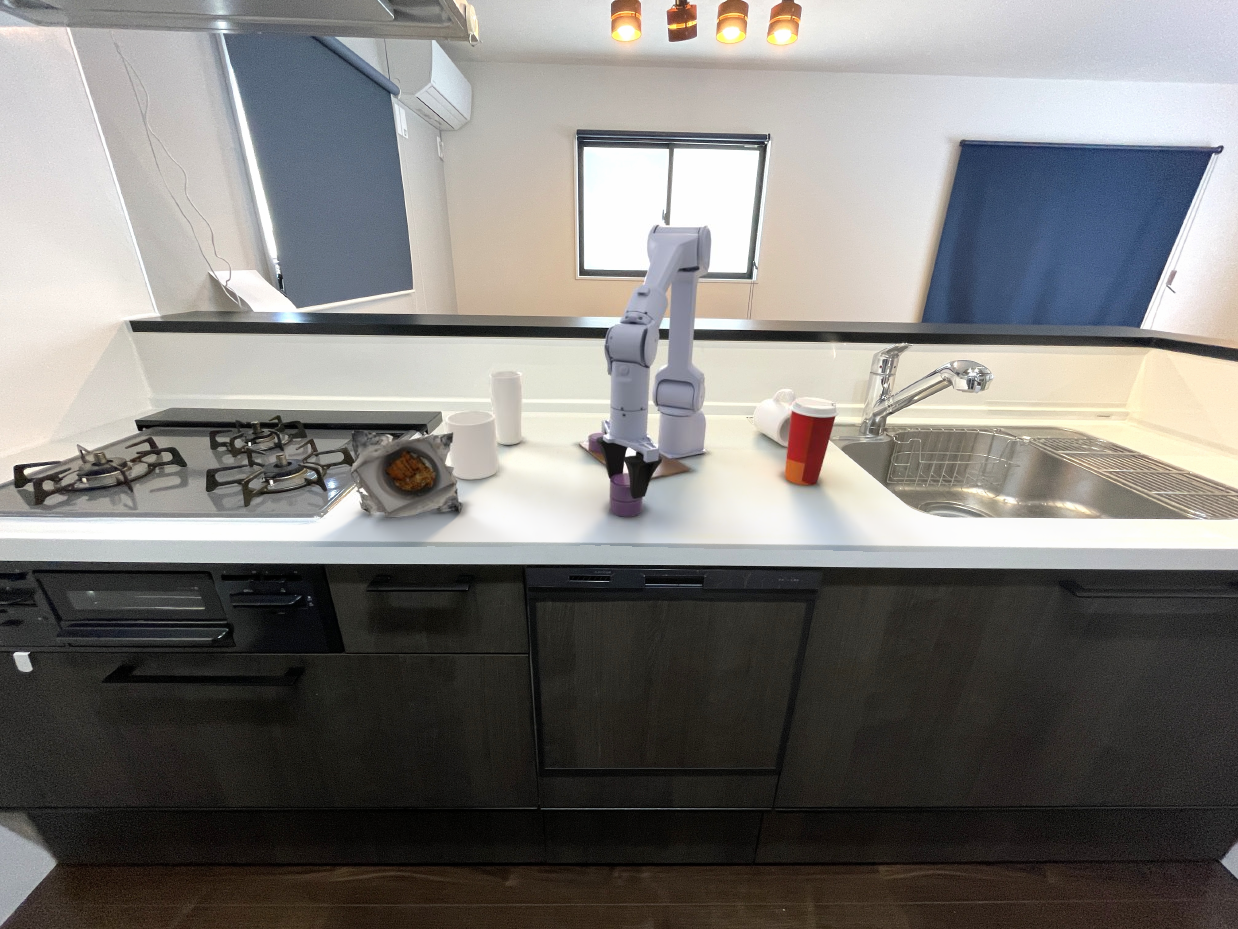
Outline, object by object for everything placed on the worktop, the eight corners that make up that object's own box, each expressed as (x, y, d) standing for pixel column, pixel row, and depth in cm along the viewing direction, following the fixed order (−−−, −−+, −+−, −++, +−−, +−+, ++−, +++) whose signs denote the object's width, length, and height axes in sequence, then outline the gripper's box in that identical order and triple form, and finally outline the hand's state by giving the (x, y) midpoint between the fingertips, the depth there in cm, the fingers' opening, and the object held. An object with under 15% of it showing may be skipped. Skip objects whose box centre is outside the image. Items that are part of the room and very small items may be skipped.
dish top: (606, 442, 108) (606, 430, 107) (618, 450, 103) (618, 438, 102) (584, 446, 105) (584, 434, 104) (595, 454, 101) (595, 442, 100)
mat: (634, 435, 114) (634, 433, 113) (690, 470, 96) (690, 468, 96) (578, 444, 107) (578, 442, 107) (628, 484, 90) (628, 482, 90)
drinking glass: (518, 448, 104) (514, 378, 98) (488, 445, 105) (482, 376, 100) (529, 437, 110) (526, 371, 104) (501, 434, 112) (496, 369, 106)
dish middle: (632, 484, 83) (632, 470, 82) (649, 497, 79) (649, 482, 78) (603, 490, 81) (604, 475, 80) (619, 504, 77) (619, 489, 76)
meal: (463, 502, 82) (455, 427, 76) (459, 515, 78) (450, 437, 73) (368, 506, 80) (352, 429, 74) (358, 519, 76) (342, 439, 71)
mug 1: (497, 454, 101) (493, 404, 97) (499, 478, 90) (495, 423, 86) (454, 457, 99) (448, 406, 95) (450, 482, 88) (443, 426, 84)
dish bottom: (631, 498, 84) (632, 484, 83) (648, 512, 80) (649, 497, 79) (603, 505, 82) (603, 490, 81) (619, 519, 78) (619, 504, 77)
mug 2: (780, 430, 119) (788, 382, 115) (806, 445, 110) (816, 393, 105) (750, 433, 117) (757, 383, 112) (774, 448, 108) (782, 395, 103)
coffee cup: (823, 473, 96) (838, 399, 90) (824, 491, 89) (841, 411, 83) (778, 467, 99) (790, 394, 93) (776, 483, 92) (789, 405, 86)
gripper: (584, 396, 78) (584, 474, 83) (629, 423, 66) (626, 512, 72) (623, 392, 81) (621, 467, 87) (673, 417, 70) (667, 502, 75)
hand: (626, 487), depth 79 cm, fingers open, 7 cm apart
